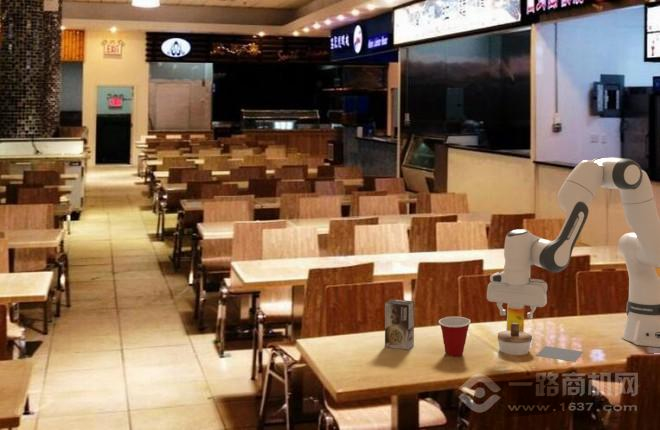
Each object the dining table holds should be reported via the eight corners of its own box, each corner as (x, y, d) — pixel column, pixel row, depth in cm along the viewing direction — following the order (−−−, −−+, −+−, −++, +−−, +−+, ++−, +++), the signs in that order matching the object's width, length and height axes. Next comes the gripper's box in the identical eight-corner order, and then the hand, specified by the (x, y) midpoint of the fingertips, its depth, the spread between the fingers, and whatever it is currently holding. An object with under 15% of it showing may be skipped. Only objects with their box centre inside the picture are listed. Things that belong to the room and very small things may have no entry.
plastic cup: (431, 353, 263) (431, 319, 262) (453, 347, 270) (454, 314, 268) (454, 361, 255) (455, 326, 253) (476, 355, 261) (477, 321, 260)
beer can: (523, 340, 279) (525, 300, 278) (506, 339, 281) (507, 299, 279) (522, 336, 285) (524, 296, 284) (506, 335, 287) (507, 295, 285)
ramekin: (492, 354, 263) (493, 339, 263) (503, 346, 273) (503, 331, 272) (524, 359, 257) (525, 344, 257) (534, 351, 267) (535, 336, 266)
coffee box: (414, 345, 272) (415, 301, 270) (408, 350, 267) (409, 304, 265) (390, 342, 276) (391, 298, 274) (383, 346, 270) (384, 302, 268)
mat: (583, 353, 265) (583, 351, 264) (574, 363, 253) (574, 361, 253) (545, 347, 271) (545, 345, 271) (535, 357, 260) (535, 355, 260)
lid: (535, 336, 267) (536, 322, 266) (526, 344, 257) (527, 330, 256) (503, 331, 272) (503, 318, 272) (493, 339, 262) (493, 325, 262)
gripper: (549, 278, 259) (548, 318, 261) (491, 272, 270) (490, 311, 271) (545, 281, 254) (544, 322, 256) (485, 276, 264) (484, 315, 266)
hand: (516, 316), depth 264 cm, fingers open, 8 cm apart
